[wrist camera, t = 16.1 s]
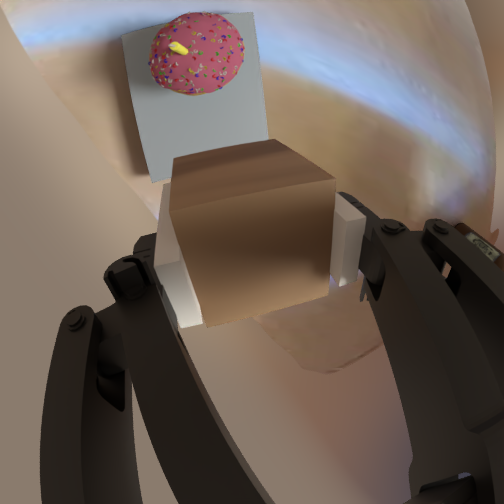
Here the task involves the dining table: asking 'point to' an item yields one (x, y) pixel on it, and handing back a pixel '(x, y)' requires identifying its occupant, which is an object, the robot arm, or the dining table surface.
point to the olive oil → (482, 245)
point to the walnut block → (252, 228)
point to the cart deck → (194, 104)
